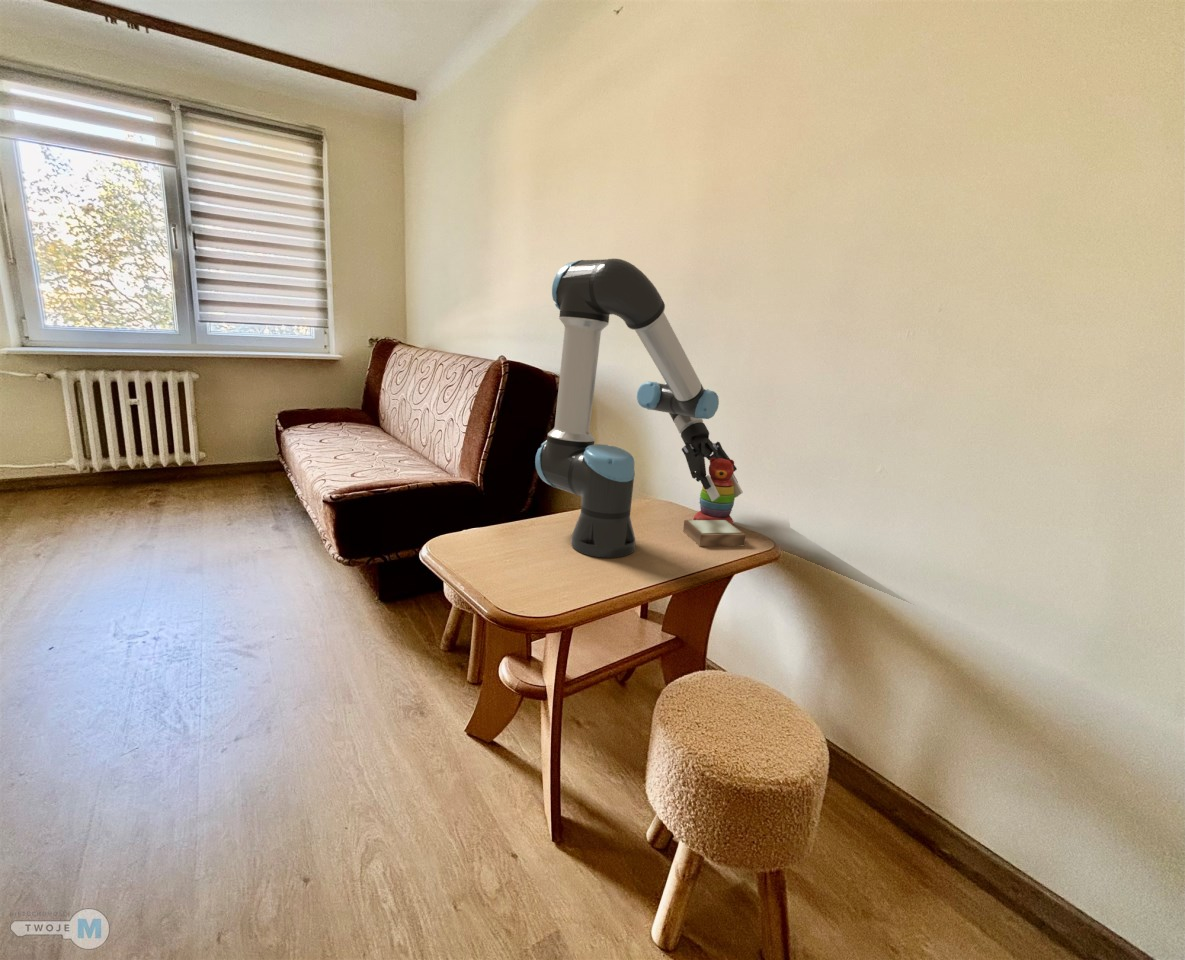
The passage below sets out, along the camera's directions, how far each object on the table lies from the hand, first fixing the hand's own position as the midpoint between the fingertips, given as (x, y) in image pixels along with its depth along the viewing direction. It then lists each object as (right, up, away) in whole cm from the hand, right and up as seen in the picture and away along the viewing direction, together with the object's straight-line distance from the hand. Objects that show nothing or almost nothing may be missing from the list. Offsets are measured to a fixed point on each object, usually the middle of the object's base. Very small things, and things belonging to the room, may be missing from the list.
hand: (727, 496), depth 148 cm
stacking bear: (-3, -7, +4) cm, 9 cm away
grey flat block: (-6, -10, -8) cm, 14 cm away
